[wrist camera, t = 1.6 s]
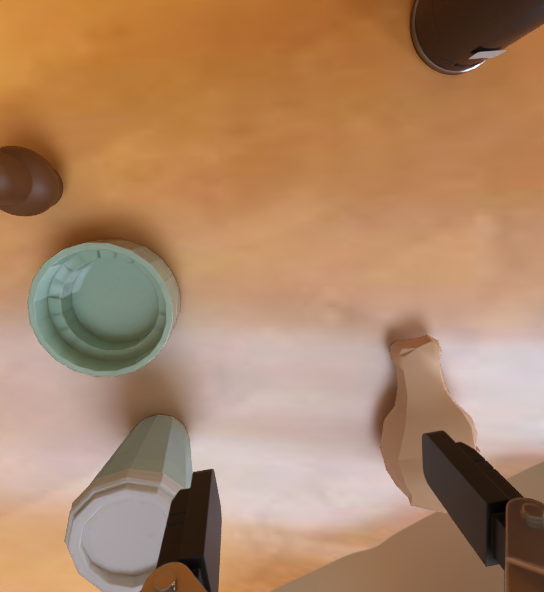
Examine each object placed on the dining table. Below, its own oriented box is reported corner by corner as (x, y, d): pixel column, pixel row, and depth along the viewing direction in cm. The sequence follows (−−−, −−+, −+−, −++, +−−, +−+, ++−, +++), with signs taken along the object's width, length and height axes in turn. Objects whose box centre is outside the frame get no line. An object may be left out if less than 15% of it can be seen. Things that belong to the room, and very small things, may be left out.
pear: (3, 151, 35) (-100, 122, 24) (68, 154, 36) (-4, 127, 25) (10, 215, 36) (-84, 214, 26) (74, 217, 37) (7, 217, 26)
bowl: (51, 237, 37) (20, 241, 32) (179, 240, 39) (170, 244, 33) (62, 356, 40) (35, 377, 35) (182, 355, 41) (174, 375, 36)
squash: (385, 485, 48) (402, 539, 39) (355, 339, 46) (366, 360, 37) (471, 474, 46) (509, 526, 38) (444, 322, 45) (478, 340, 36)
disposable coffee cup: (97, 425, 42) (23, 536, 27) (176, 377, 42) (145, 464, 27) (151, 491, 44) (109, 625, 30) (226, 446, 44) (222, 559, 30)
